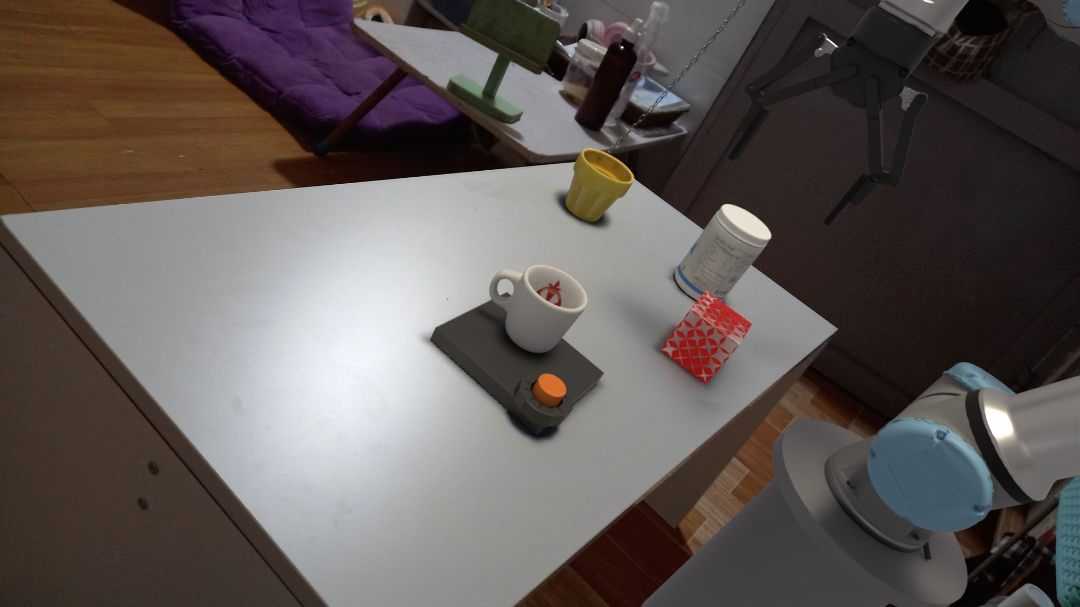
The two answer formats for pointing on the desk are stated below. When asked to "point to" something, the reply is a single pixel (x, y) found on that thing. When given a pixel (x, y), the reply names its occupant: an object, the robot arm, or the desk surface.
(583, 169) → the flower pot
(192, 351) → the desk surface
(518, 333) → the cup
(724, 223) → the supplement tub
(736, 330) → the red patterned cube
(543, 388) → the button
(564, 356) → the scale
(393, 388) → the desk surface
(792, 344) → the desk surface
